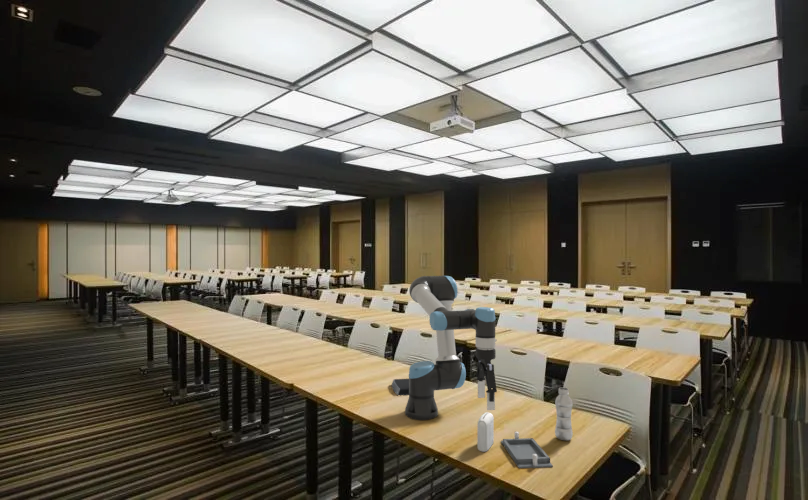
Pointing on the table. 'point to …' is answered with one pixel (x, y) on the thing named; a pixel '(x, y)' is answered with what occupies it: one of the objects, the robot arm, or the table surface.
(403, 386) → the external hard drive
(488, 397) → the robot arm
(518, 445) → the tray
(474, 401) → the table surface
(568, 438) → the plastic bottle
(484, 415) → the photo printer
